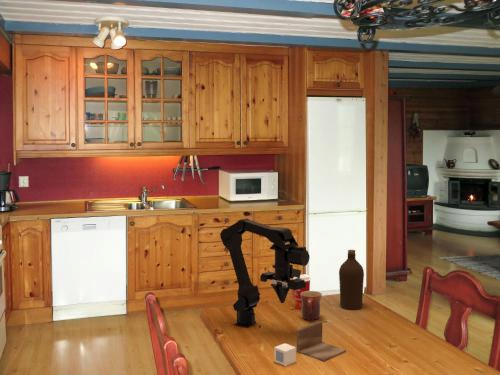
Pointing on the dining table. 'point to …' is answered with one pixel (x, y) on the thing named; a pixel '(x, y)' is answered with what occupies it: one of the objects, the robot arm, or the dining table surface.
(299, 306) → the paper cup
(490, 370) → the dining table surface
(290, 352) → the letter cube
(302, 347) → the bookend
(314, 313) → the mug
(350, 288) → the olive oil
